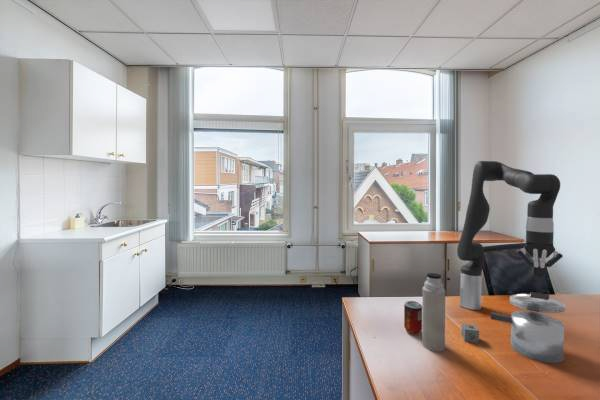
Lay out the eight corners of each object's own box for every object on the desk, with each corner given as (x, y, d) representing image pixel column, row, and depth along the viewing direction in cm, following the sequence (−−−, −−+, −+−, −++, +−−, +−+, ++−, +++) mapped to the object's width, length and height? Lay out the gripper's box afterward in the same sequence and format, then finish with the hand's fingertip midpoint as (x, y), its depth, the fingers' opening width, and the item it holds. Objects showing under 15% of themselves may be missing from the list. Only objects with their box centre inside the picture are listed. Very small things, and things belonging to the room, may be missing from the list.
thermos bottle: (421, 338, 114) (421, 270, 113) (443, 341, 111) (443, 272, 110) (423, 349, 106) (423, 276, 105) (446, 353, 104) (447, 278, 103)
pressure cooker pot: (490, 348, 106) (491, 317, 106) (490, 330, 120) (490, 302, 120) (567, 368, 94) (568, 333, 94) (557, 345, 108) (558, 315, 108)
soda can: (424, 330, 120) (424, 302, 120) (418, 337, 115) (418, 308, 114) (407, 325, 125) (407, 298, 124) (401, 332, 119) (401, 303, 119)
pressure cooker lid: (511, 292, 103) (511, 288, 103) (508, 306, 115) (508, 303, 116) (571, 302, 94) (570, 298, 94) (560, 316, 106) (560, 312, 107)
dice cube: (478, 343, 110) (479, 330, 110) (464, 341, 112) (464, 329, 112) (475, 336, 115) (475, 325, 115) (461, 335, 117) (461, 323, 116)
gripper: (517, 229, 101) (516, 277, 102) (566, 232, 94) (565, 283, 94) (515, 227, 107) (514, 271, 108) (562, 229, 100) (560, 277, 101)
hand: (538, 277), depth 101 cm, fingers closed
